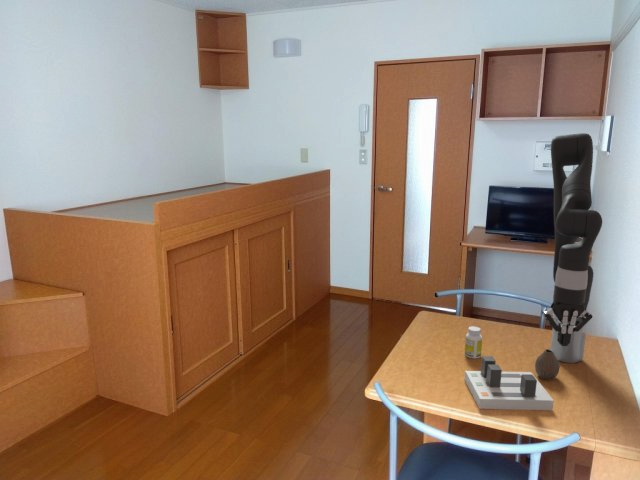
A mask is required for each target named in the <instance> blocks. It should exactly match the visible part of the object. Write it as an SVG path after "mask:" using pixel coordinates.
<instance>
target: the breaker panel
mask: <svg viewBox="0 0 640 480" xmlns="http://www.w3.org/2000/svg"><path fill="white" fill-rule="evenodd" d="M496 363H497V361H496V360H495V358H494V356H492V355H481V366H480V367H481V369H480V370H464V371H465V372H464V382H465V383H466V385H467V387H468V389H469V391H470V393H471V396H472V397H473V399H474V402H475V403H476V405H477V407H478V409H480V410H522V411H526V410H527V411H533V410H534V411H553V409H554V402H555V400H554V399H553V397H552V396H551V395H550V394H549V392H548V391H547V390H546V389H545V388H544V386H543V385H542V384H541V383H540V381H539V380H538V379H537V378H536V377H535V374H533V372H531V371H502V370H503V369H502V368H501V367H500V365H499V364H496ZM522 374H530V375H533V376H534V377H535V378H536V380H537V384H536V393H535V397H524V396H523V394H522V393H521V391H520V384H521V375H522Z"/></svg>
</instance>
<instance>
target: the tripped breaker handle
mask: <svg viewBox="0 0 640 480" xmlns="http://www.w3.org/2000/svg"><path fill="white" fill-rule="evenodd" d="M533 375H534V374H533ZM533 375H530V374H522V375H521V384H520V391H521V393H522V394H523V396H524V397H535V393H536V384H537V380H538V379H537V378H536V377H534V376H535V375H534V376H533ZM536 379H537V380H536Z"/></svg>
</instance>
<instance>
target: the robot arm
mask: <svg viewBox="0 0 640 480" xmlns="http://www.w3.org/2000/svg"><path fill="white" fill-rule="evenodd" d="M550 159H551V168H552V169H551V170H552V179H553V180H552V181H553V226H554V254H553V255H554V257H553V270H552V271H553V272H552V275H553V277H552V278H553V281H554V286H553V287H554V288H553V295H552V303H551V304H550V308H548V309H547V310H542V311H541V315H542V316H543V317H544V319H545V320H546V321H547V323H548V324H549V325H550V327H551V329H552V331H551V339H550V340H551V341H550V346H549V347H550V348H549V350H552V351H553V353H554V355H555V356H556V358H557V359H558V361H559V362H561V363H562V362H563V363H569V364H570V363H571V364H572V363H573V364H574V363H575V364H576V363H578V362H583V359H584V353H585V344H586V337H587V334H586V333H585V332H584V330H585V325H586V324H588V323H589V322H590V320H592V318H593V315H592V314H591V313H590V312H588V311H587V309H588V306H589V302H590V297H591V291H592V287H593V280H594V269H593V267H592V266H591V265H589V263H590V256H591V252H592V250H593V247H594V243H595V241H596V239H597V238H598V236H599V233H600V232H601V229H602V227H603V218H602V215H601V214H600V212H598V211H597V210H594V209H593V210H592V209H591V208H592V204H593V201H592V200H593V198H592V189H591V183H592V182H591V179H592V172H593V162H594V161H593V160H594V143H593V139H592V136H591V135H590V134H588V133H586V132H585V133H582V132H581V133H574V134H563V135H556V136H554V137H553V138H552V139H551V143H550ZM571 166H577V167H576V168H575V169H574V170H573V171H572V172H571V173H570V174H569V175H568V176H567V175H566V172H565V168H564V167H571ZM579 238H582V239H581V240H580V241H578V239H579ZM577 241H578V242H577Z"/></svg>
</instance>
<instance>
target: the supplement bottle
mask: <svg viewBox="0 0 640 480" xmlns="http://www.w3.org/2000/svg"><path fill="white" fill-rule="evenodd" d="M481 332H482V331H481V327H478V326H472V325H471V326H469V327H468V330H467V333H466V335H465V343H464V355H465V356H466V357H467V358H470V359H479V358H482V345H483V336H482V334H481Z"/></svg>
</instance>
